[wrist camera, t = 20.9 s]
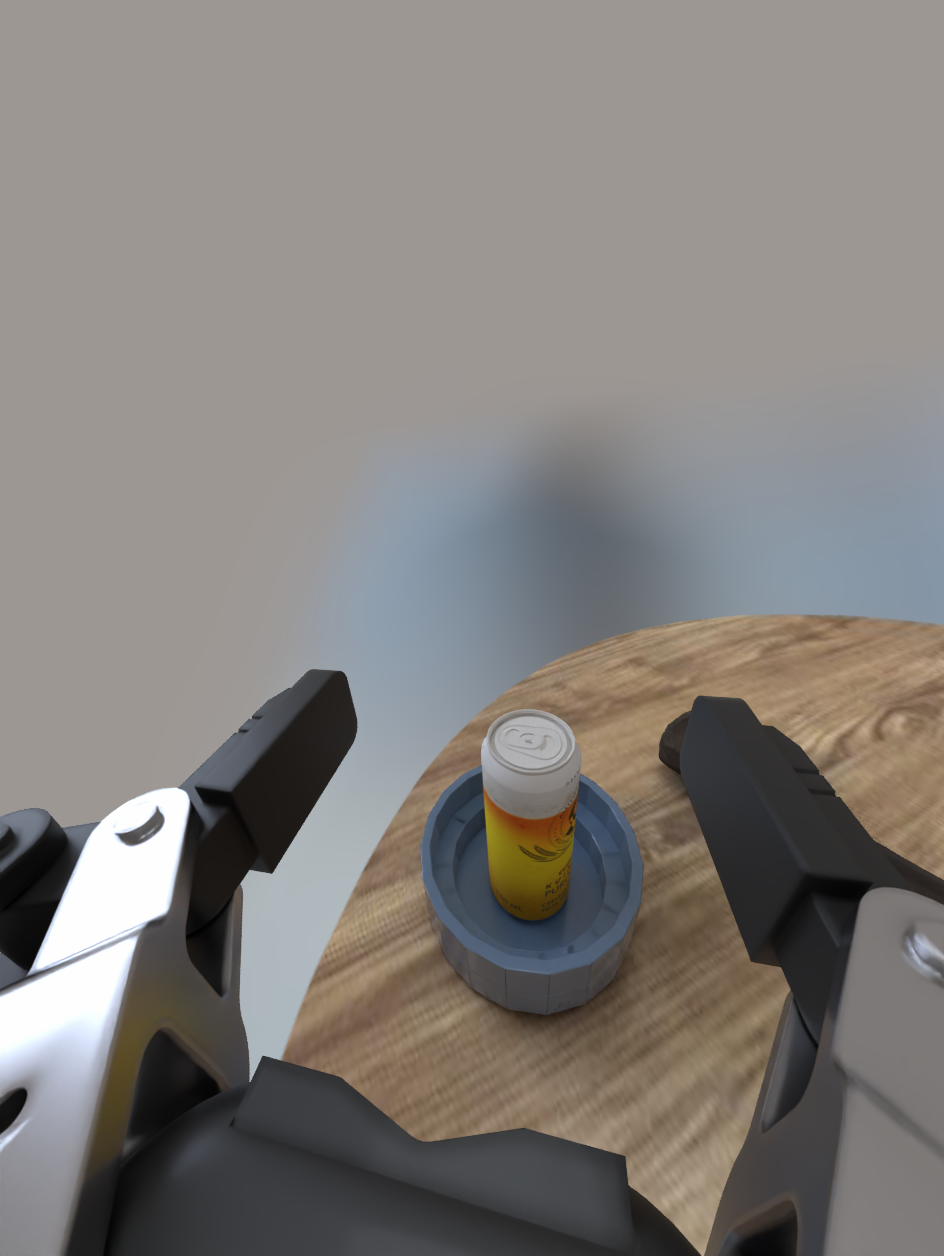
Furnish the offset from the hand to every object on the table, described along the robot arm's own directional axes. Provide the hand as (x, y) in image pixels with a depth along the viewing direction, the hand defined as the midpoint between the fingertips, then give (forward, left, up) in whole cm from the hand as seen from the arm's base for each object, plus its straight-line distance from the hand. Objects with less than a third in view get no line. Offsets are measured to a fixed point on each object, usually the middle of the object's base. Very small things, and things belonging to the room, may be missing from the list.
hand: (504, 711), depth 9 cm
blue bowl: (-3, +10, -26) cm, 28 cm away
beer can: (-3, +10, -26) cm, 28 cm away
